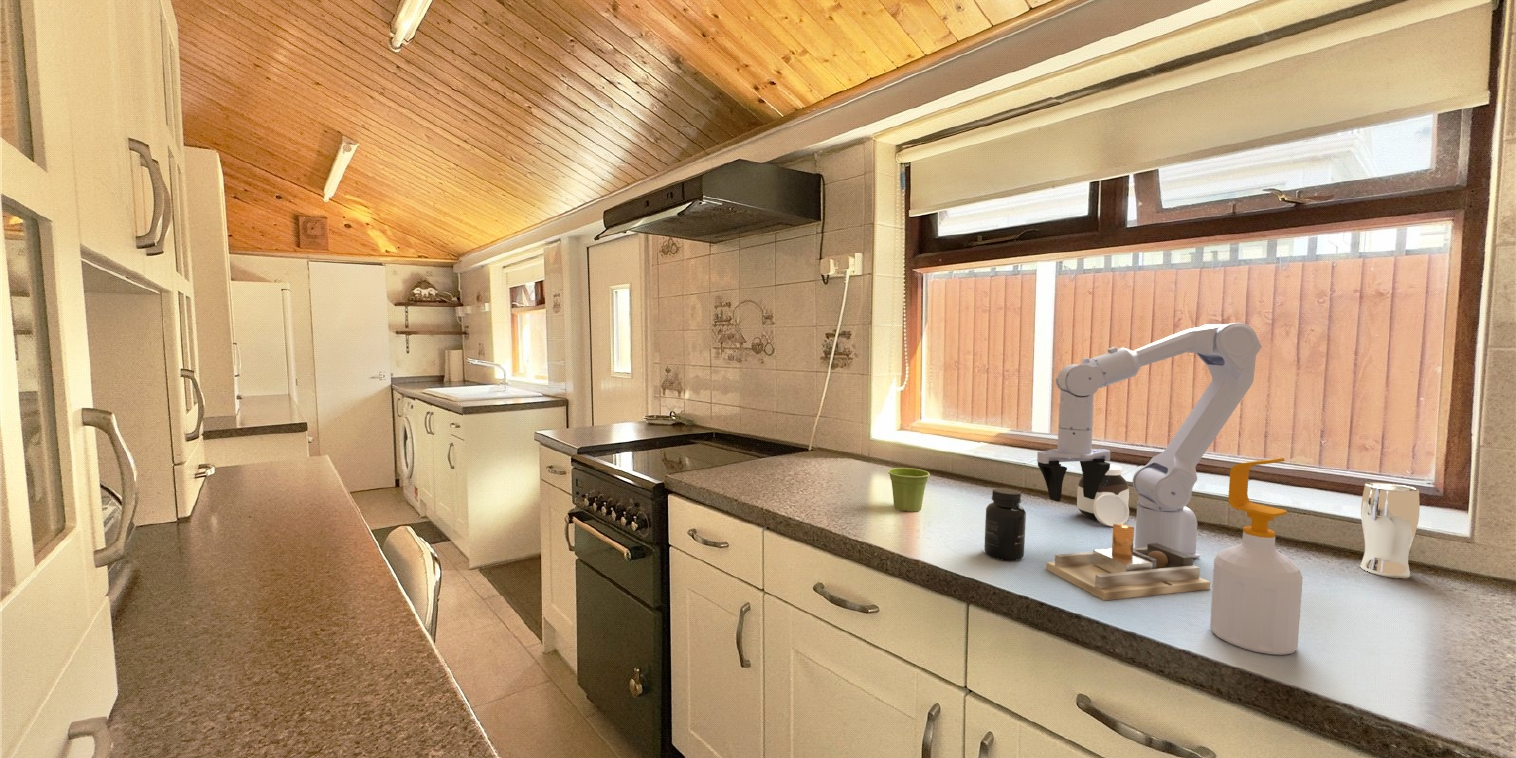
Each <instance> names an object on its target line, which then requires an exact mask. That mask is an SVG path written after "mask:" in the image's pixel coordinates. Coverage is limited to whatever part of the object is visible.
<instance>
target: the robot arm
mask: <svg viewBox="0 0 1516 758" xmlns="http://www.w3.org/2000/svg"><path fill="white" fill-rule="evenodd" d="M1261 348H1262V344H1261V343H1260V340H1259V338H1258V336H1257V333H1256V331H1255V330H1254V329H1253V327H1251V326H1249V325H1248V324H1246V323H1244V322H1243V323H1242V322H1233V323H1223V324H1218V323H1217V324H1216V323H1206V324H1203V325H1200V326H1199V327H1191V328H1187V329H1185V330H1181V331H1179V332H1177V333H1174V334H1171V335H1168V336H1166V337H1164V338H1161V339H1159V340H1156V341H1153V342H1151V343H1149V344H1146V345H1144V346H1142V347H1139V348H1137V349H1134V350H1131V349H1128V348H1125V347H1120V348H1118V347H1117V346H1112V347H1109V348H1107V349H1106V350H1107V352H1105V353H1102V354H1101V355H1098V356H1097V355H1096V356H1095V357H1092V358H1089V357H1084V358H1082V359H1081V364H1076V363H1075V364H1074V363H1072V364H1067V365H1065V366H1064V367H1063V368H1061V370H1059V373H1058V375H1057V377H1055V384H1056V386H1057V388H1058V389H1059V391H1060V395H1059V397H1060V398H1059V404H1058V405H1059V407H1058V429H1057V448H1056V449H1048V450H1042V451H1041V450H1040V451H1037V456H1036V457H1037V458H1036V462H1037V466H1038V468H1039V470H1040V472H1041V474H1042V476H1043V478H1044V481H1045V484H1046V487H1047V492H1048V497H1049V500H1052V501H1055V502H1059V503H1060V502H1061V499H1062V492H1063V491H1062V490H1063V483H1064V478H1065V475H1066V472H1067V470H1068V468H1067V466H1063V465H1062V464H1061V463H1070V462H1072V463H1073V462H1079V464H1080V468H1081V473H1082V476H1083V494H1084V497H1086V498H1089V499H1095V496H1096V493H1097V490H1098V488H1099V485H1100V483H1101V481H1102V479H1103V477H1104V475H1105V474H1106V473H1107V471H1108V470H1109V469H1110V464H1111V463H1110V461H1111V450H1108V449H1103V448H1093V447H1092V446H1093V426H1094V424H1093V423H1094V399H1095V398H1094V397H1095V394H1096V393H1097V391H1098V390H1099V389H1103V388H1105V387H1108V386H1111V385H1113V384H1117V383H1120V382H1122V381H1125V380H1127V379H1130V378H1134V377H1136V376H1137V375H1138V373H1139V370H1141V368H1142V367H1143V366H1146V365H1147V366H1148V365H1150V364H1154V363H1157V362H1160V361H1164V360H1167V359H1169V358H1172V357H1176V356H1179V355H1182V354H1185V353H1186V354H1187V353H1188V354H1189V353H1191V354H1196V355H1197V356H1198V357H1199V359H1200V360H1201V361H1202V362H1203V363H1204V364H1205V366H1206V367H1207V369H1208V371H1209V374H1210V377H1211V378H1212V380H1211V382H1210V383H1209V384H1208V385H1207V387H1206V389H1205V390H1204V391H1203V393H1202V395H1201V396H1200V398H1199V399H1198V400H1197V402H1196V403H1195V405H1194V407H1193V408H1192V409H1191V411H1190V412H1189V414H1188V415H1187V417H1186V418H1185V420H1184V421H1183V423H1182V424H1181V426H1180V427H1179V429H1178V430H1177V432H1176V433H1175V435H1173V438H1172V439H1171V440H1170V441H1169V443H1168V444H1167V447H1166V448H1165V449H1164V450H1163V451H1162V452H1160V453H1159V454H1157V455H1154V456H1153V457H1152V458H1151V459H1150V460H1149V462H1148V463H1146V465H1143V466H1142V467H1139V469H1137V470H1136V471H1135V473H1134V474H1133V478H1132V486H1133V489H1134V490H1135V492H1136V493H1137V494H1138V498H1137V502H1136V519H1135V522H1136V523H1135V525H1136V526H1135V536H1134V538H1135V540H1134V542H1135V543H1133V548H1141V547H1147V545H1148V544H1151V543H1158V544H1160V545H1163V546H1166V547H1168V548H1171V549H1174V550H1176V551H1179V552H1181V553H1184V554H1187V555H1189V556H1192V557H1193V559H1198V558H1200V557H1201V555H1200V554H1199V553H1197V538H1198V537H1197V536H1198V519H1197V517H1196V514H1195V513H1194V511H1193V510H1192V509H1190V508H1189V507H1187V505H1188V504H1189V502H1190V501H1191V499H1192V494H1193V489H1194V485H1195V484H1196V483H1197V480H1198V475H1197V470H1196V467H1197V465H1198V463H1199V462H1200V461H1201V459H1202V458H1203V456H1204V455H1205V453H1206V452H1207V451H1208V449H1209V447H1211V445H1212V443H1213V441H1214V440H1215V439H1216V437H1217V436H1218V434H1219V433H1220V432H1221V430H1222V429H1223V428H1224V427H1225V426H1224V425H1226V423H1227V421H1228V420H1229V418H1230V417H1231V416H1232V414H1233V412H1234V411H1235V410H1236V408H1237V407H1238V405H1239V404H1240V403H1241V401H1242V400H1243V398H1245V396H1246V394H1247V392H1248V391H1249V390H1250V388H1251V387H1252V385H1253V383H1254V379H1255V370H1256V369H1255V367H1256V360H1257V355H1258V353H1259V352H1260V351H1261Z"/></svg>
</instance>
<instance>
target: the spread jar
mask: <svg viewBox="0 0 1516 758" xmlns="http://www.w3.org/2000/svg"><path fill="white" fill-rule="evenodd" d="M1122 471H1123V467H1122V466H1120V465H1117V464H1112V463H1110V469H1109V470H1108V471H1107V473H1106V474H1105V475H1104V477H1103V479H1102V481H1101V483H1100V485H1099V488H1098V490H1097V493H1096V496H1095V499H1089V498H1086V497H1084V494H1083V475H1081V477H1080V479H1079V481H1078V484H1077V490H1076V493H1077V495H1076V504H1077V508H1078V509H1077V510H1078V511H1079V512H1080V513H1081V515H1083V516H1084V517H1086V518H1088V519H1089V520H1094V521H1098V522H1099V523H1100V524H1102V525H1105V526H1107V527H1113V524H1126V522H1127V520H1128V519H1129V515H1130V508H1129V498H1130V494H1129V493H1130V487H1129V484H1128V481H1126V479H1125V478H1124V477H1123V476H1122V474H1123V473H1122Z"/></svg>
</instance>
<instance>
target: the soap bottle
mask: <svg viewBox="0 0 1516 758" xmlns="http://www.w3.org/2000/svg"><path fill="white" fill-rule="evenodd" d="M1281 462H1282V463H1283V462H1285V458H1283V457H1280V458H1273V459H1271V458H1270V459H1264V460H1263V459H1261V460H1254V461H1247V462H1243V463H1242V462H1240V463H1237V464H1235V465H1233V466H1232V467H1231V468H1230V471H1229V484H1228V486H1229V487H1228V504H1229V505H1230V506H1231V507H1232V508H1233V509H1235V510H1239V511H1242V512H1246V517H1247V518H1249V519H1251V525H1246V526H1243V528H1242V530H1243V531H1242V539H1241V540H1242V542H1241V543H1240V544H1237V545H1233V546H1230V547H1227V548H1225V549H1223V550H1221V551H1219V552H1217V554H1216V556H1215V558H1214V559H1213V573H1212V574H1213V575H1212V589H1211V605H1210V606H1211V607H1210V618H1209V619H1210V622H1209V626H1210V630H1211V632H1212V633H1213V634H1215V635H1216V637H1218V638H1220V639H1221V640H1223V641H1225V642H1227V643H1229V644H1231V645H1233V646H1236V647H1238V648H1241V649H1244V650H1247V651H1251V652H1254V653H1260V654H1266V655H1276V656H1281V655H1290V654H1293V653H1295V651H1296V650H1297V649H1298V647H1299V633H1300V620H1301V619H1300V617H1301V608H1302V607H1301V606H1302V605H1301V603H1302V594H1303V593H1302V591H1303V575H1302V572H1301V569H1300V568H1299V567H1298V565H1297V564H1296V563H1294V561H1292V560H1291V559H1290V558H1289V557H1287V556H1286V555H1284V554H1283V553H1281V552H1279V551H1278V550H1277V549H1276V531H1275V530H1272V529H1270V528H1268V527H1269V522H1272V521H1275V519H1274V518H1275V517H1276V518H1277V517H1280V516H1284V515H1287V514H1288V511H1287V509H1282V508H1277V507H1273V506H1267V505H1264V504H1260V503H1259V504H1258V503H1254V502H1252V501H1251V500H1250V499H1249V496H1248V490H1249V489H1248V488H1249V485H1248V484H1249V474H1250V471H1251V470H1250V469H1251V468H1252V467H1253V466H1257V465H1259V466H1260V465H1268V464H1275V463H1281Z"/></svg>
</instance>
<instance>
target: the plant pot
mask: <svg viewBox="0 0 1516 758" xmlns="http://www.w3.org/2000/svg"><path fill="white" fill-rule="evenodd" d="M887 472H888V475H889V478H890V481H891V488H892V489H891V491H892V499H893V506H894V509H896V510H898V511H901V512H905V511H908V512H912V513H914V512H919V511H921V510H922V507H923V500H924V495H925V489H926V483H927V482H928V479H929V477H930V476H931V474H930V472H929V471H927V470H923V469H918V468H913V467H912V468H910V467H895V468H890V469H888V470H887Z"/></svg>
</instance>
